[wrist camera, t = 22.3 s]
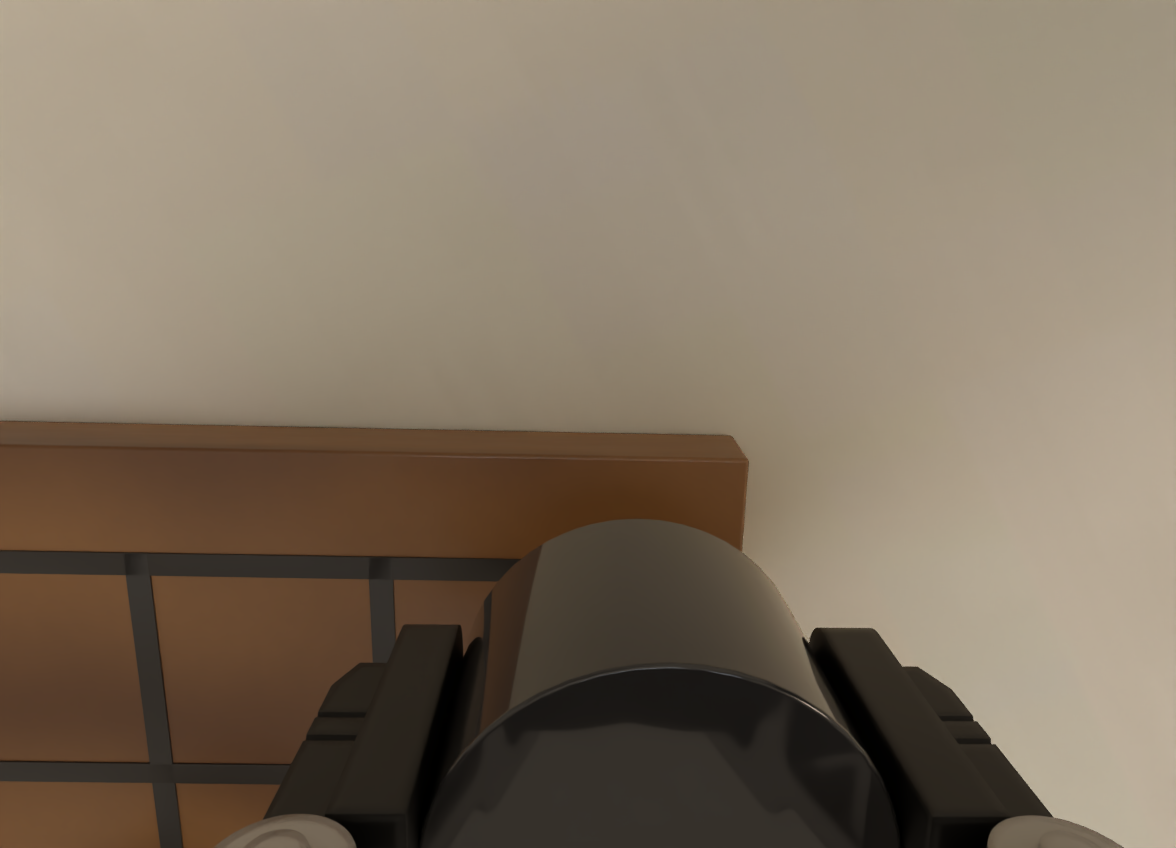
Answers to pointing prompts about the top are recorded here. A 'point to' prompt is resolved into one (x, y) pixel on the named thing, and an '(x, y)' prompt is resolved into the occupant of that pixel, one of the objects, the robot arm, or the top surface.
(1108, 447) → the top surface
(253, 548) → the board
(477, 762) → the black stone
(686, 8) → the top surface
